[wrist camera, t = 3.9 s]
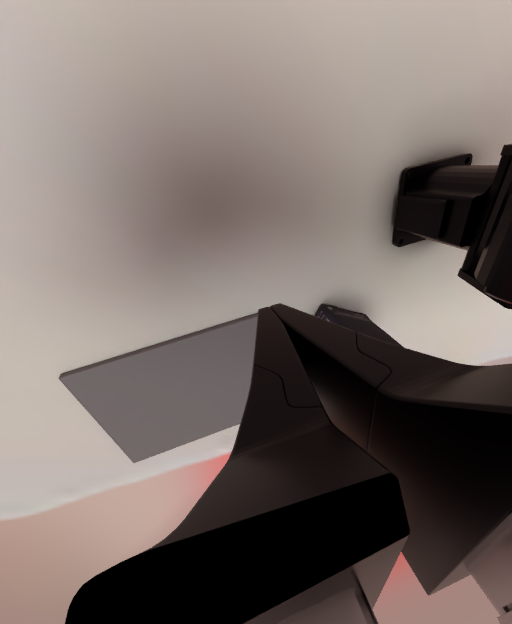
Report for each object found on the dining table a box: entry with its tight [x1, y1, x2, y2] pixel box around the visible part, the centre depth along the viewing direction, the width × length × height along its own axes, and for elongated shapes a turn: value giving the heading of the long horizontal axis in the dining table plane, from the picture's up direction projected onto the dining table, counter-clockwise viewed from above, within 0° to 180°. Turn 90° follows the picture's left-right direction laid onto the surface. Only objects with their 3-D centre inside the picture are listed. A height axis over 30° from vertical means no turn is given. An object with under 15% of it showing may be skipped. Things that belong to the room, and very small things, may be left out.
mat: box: [59, 313, 258, 463], centre depth 26 cm, size 18×14×1 cm
